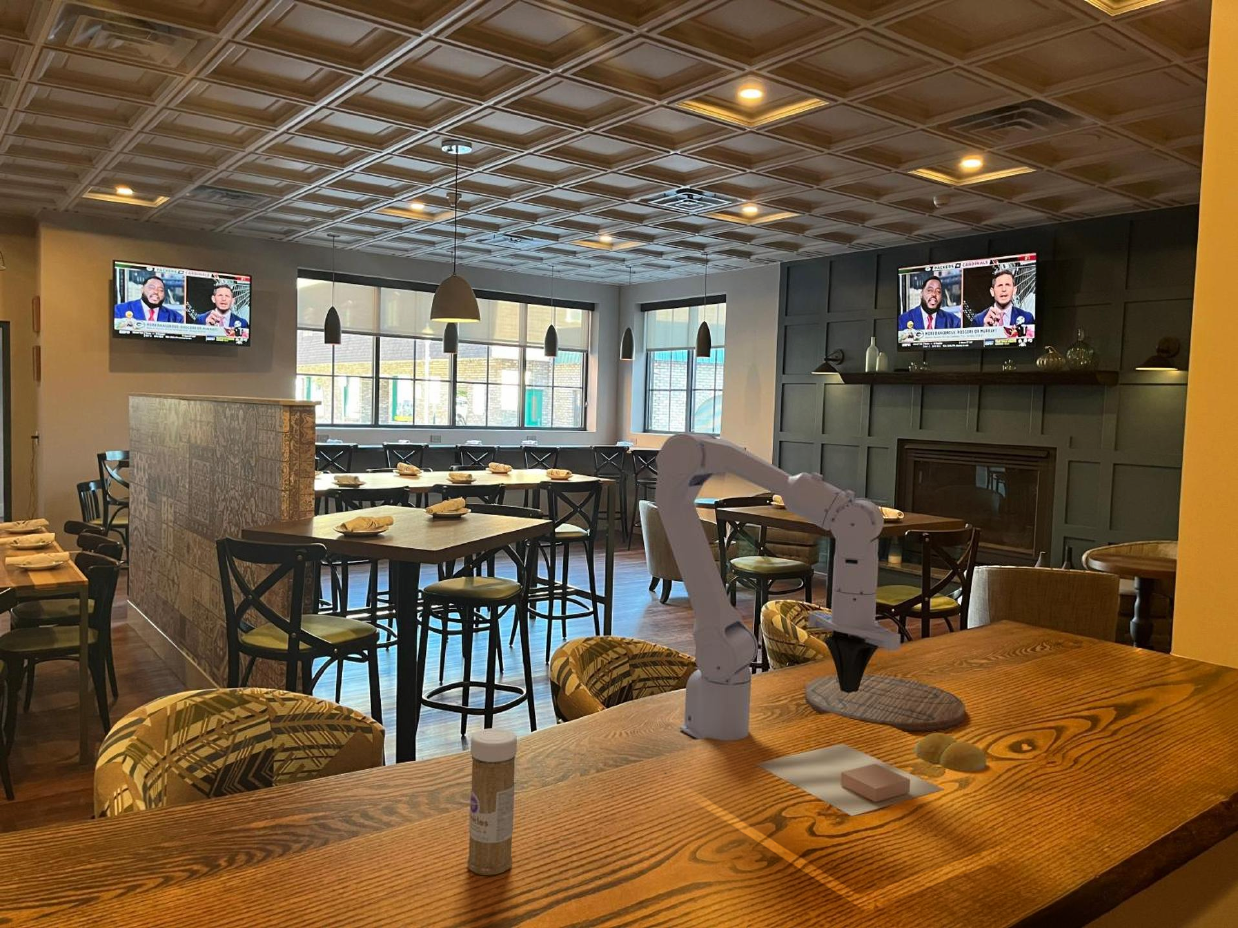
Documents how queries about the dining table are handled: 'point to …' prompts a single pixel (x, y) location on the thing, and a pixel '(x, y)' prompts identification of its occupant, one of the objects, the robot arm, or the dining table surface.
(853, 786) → the block
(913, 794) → the board
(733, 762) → the dining table surface
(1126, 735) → the dining table surface
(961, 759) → the bread roll
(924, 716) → the trivet
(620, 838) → the dining table surface
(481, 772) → the sprinkles bottle
